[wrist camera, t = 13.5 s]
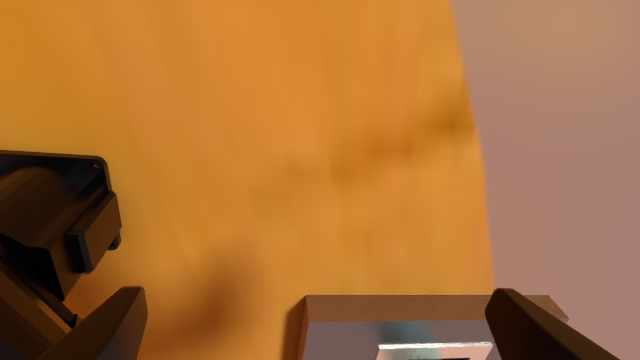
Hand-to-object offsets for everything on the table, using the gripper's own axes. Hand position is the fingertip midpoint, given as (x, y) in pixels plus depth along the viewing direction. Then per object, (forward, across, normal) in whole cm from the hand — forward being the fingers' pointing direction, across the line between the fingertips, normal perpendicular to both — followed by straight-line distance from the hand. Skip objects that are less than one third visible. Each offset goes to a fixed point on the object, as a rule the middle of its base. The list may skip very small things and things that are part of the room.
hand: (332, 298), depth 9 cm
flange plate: (+13, -13, +22) cm, 29 cm away
